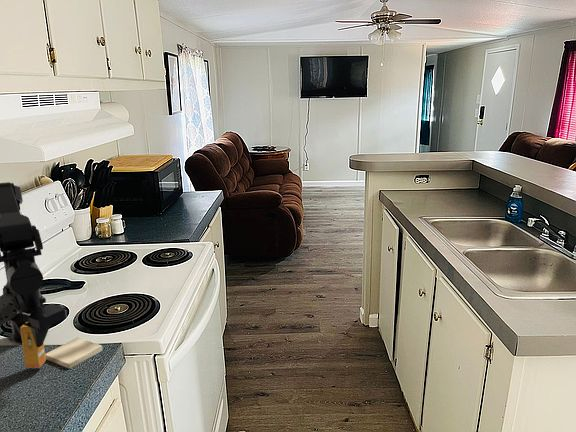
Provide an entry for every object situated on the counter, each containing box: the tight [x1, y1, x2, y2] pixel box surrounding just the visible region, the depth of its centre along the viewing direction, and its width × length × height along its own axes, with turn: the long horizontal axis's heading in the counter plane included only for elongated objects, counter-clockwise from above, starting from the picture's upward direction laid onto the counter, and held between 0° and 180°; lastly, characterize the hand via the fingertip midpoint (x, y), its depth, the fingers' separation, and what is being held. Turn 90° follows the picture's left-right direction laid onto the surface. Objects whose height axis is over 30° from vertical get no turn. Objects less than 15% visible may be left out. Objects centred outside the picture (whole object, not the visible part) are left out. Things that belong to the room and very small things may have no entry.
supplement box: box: [20, 322, 47, 369], centre depth 100 cm, size 3×3×10 cm
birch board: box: [45, 336, 104, 369], centre depth 107 cm, size 9×9×1 cm
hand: (33, 343), depth 100 cm, fingers closed on supplement box, 4 cm apart
